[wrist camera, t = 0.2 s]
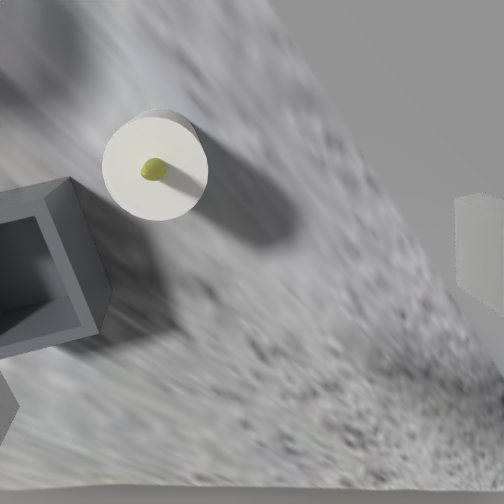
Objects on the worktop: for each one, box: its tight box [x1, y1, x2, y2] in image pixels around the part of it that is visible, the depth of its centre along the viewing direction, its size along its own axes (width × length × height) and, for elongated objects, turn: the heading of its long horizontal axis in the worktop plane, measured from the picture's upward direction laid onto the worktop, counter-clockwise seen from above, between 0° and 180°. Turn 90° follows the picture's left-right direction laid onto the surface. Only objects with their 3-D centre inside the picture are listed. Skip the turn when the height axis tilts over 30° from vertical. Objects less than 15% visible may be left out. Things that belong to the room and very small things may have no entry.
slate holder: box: [0, 177, 113, 359], centre depth 33 cm, size 11×10×7 cm
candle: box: [102, 108, 208, 221], centre depth 28 cm, size 6×6×15 cm
